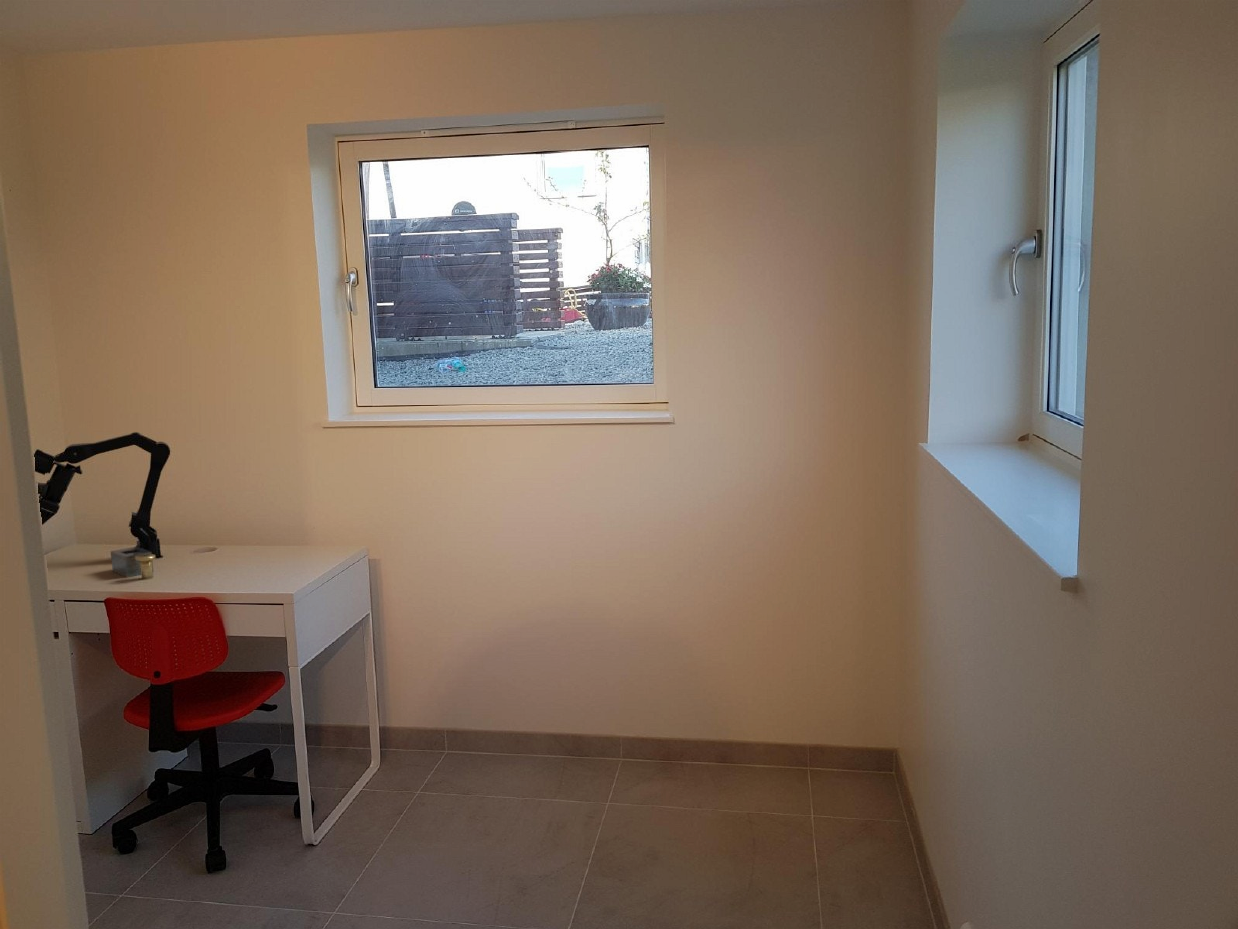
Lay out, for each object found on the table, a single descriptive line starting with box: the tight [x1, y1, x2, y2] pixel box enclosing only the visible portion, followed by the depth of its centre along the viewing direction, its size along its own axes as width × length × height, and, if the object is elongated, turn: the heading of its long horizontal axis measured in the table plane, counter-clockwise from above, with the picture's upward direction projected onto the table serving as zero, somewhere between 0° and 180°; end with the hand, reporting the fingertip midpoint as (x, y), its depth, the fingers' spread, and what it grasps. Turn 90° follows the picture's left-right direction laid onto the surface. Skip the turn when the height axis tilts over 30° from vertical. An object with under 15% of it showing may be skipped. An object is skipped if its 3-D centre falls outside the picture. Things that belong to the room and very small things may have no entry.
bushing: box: [135, 554, 157, 580], centre depth 302 cm, size 6×6×7 cm
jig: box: [110, 546, 154, 578], centre depth 311 cm, size 8×12×6 cm, turn 45°
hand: (36, 525), depth 315 cm, fingers open, 9 cm apart
